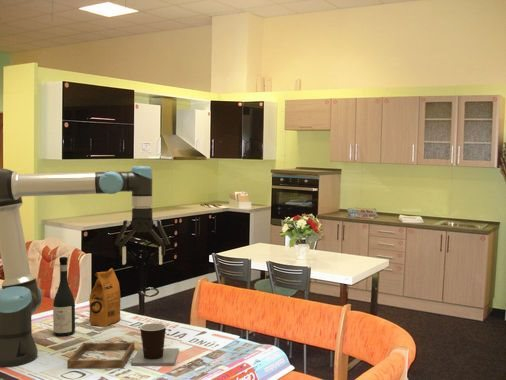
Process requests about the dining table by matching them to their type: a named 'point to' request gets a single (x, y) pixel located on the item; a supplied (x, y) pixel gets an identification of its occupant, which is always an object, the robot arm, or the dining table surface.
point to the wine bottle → (63, 304)
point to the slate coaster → (166, 360)
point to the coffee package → (105, 300)
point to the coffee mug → (153, 340)
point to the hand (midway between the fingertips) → (142, 264)
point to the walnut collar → (105, 363)
